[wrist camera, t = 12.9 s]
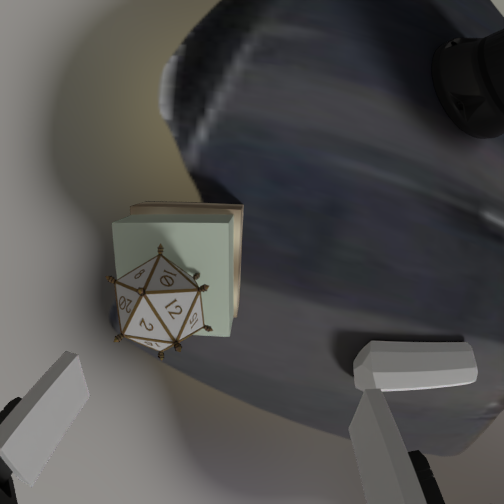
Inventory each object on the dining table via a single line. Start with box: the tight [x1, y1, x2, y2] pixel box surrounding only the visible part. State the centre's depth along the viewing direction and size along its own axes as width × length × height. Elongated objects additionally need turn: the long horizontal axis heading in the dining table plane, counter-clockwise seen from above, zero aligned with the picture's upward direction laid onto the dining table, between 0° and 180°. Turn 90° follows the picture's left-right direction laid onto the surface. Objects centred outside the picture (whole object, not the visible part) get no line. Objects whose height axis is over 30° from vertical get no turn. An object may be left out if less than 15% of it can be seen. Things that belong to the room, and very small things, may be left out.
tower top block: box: [112, 214, 234, 337], centre depth 29 cm, size 11×11×5 cm
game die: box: [106, 243, 213, 361], centre depth 23 cm, size 9×8×10 cm
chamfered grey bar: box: [353, 341, 478, 391], centre depth 37 cm, size 7×7×24 cm
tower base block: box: [130, 201, 244, 318], centre depth 34 cm, size 12×12×5 cm
